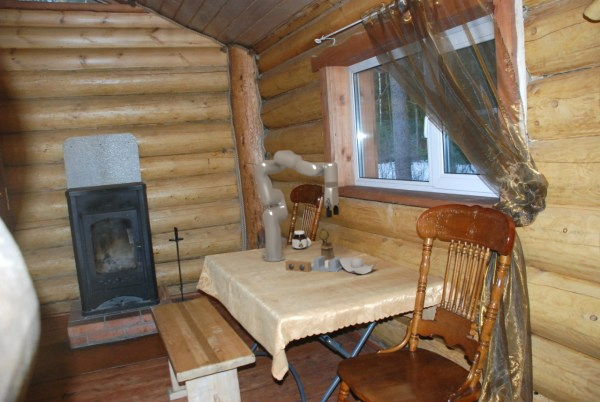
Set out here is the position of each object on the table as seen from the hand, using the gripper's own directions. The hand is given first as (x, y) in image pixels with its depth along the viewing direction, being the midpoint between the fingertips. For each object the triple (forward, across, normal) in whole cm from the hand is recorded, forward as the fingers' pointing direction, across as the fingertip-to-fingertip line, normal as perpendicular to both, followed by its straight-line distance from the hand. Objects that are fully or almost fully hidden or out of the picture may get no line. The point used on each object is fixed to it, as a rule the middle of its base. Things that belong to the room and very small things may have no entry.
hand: (332, 216), depth 261 cm
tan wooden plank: (+28, +14, -16) cm, 35 cm away
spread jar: (+28, -38, -40) cm, 62 cm away
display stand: (+28, +6, -2) cm, 29 cm away
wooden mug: (+28, -10, -9) cm, 31 cm away
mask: (+29, +5, +16) cm, 33 cm away
